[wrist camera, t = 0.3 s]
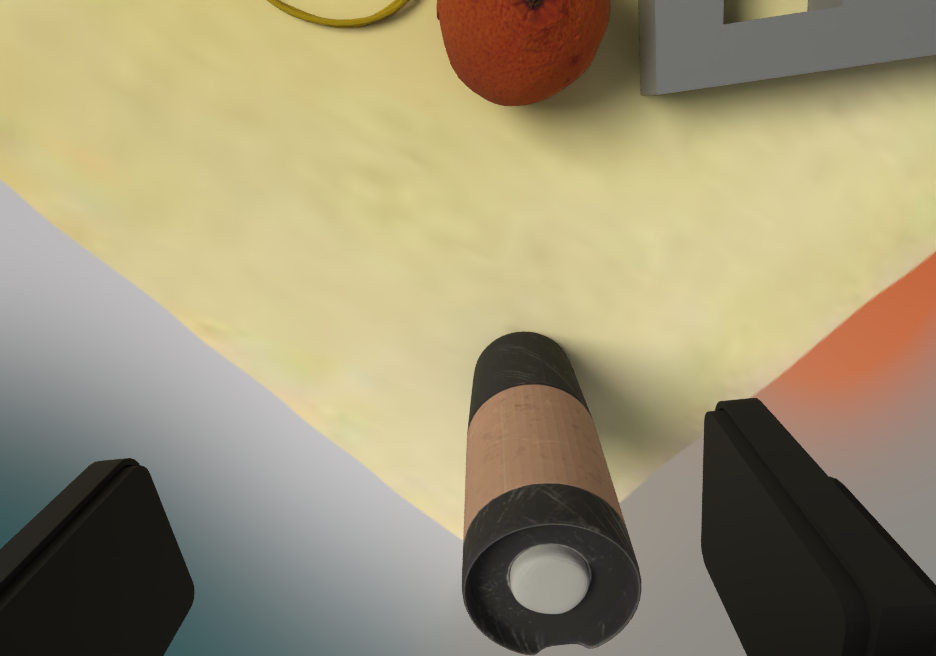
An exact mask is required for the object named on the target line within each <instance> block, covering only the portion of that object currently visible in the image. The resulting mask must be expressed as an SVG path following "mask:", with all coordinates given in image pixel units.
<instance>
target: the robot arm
mask: <svg viewBox="0 0 936 656" xmlns="http://www.w3.org/2000/svg"><path fill="white" fill-rule="evenodd" d="M701 548H702V554H703V559H704V563H705V566H706V568H707V570H708V573H709V575H710V577H711V579H712V581H713V583H714V586H715V588H716V590H717V592H718V594H719V596H720V598H721V601H722V603H723V605H724V607H725V609H726V611H727V613H728V615H729V618H730V620H731V622H732V624H733V626H734V628H735V631H736V633H737V635H738V637H739V639H740V641H741V643H742V646H743V648H744V650H745V652H746V654H747V656H936V585H935V584H934V583H933V581H932V580H930V578H929V577H928V576H927V575H926V574H925V573H924V572H923V571H922V570H921V568H920V567H919V566H918V565H917V564H916V563H915V562H914V561H913V560H912V559H911V558H910V557H909V555H908V554H907V553H906V552H905V551H904V550H903V549H902V548H901V547H900V545H899V544H898V543H897V542H896V541H895V540H894V539H893V538H892V537H891V536H890V535H889V533H888V532H887V531H886V530H885V529H884V528H883V527H882V526H881V525H880V524H879V523H878V521H877V520H876V519H875V518H874V517H873V516H872V515H871V514H870V513H869V512H868V511H867V509H866V508H865V507H864V506H863V505H862V504H861V503H860V502H859V501H858V500H857V499H856V498H855V496H854V495H853V494H852V493H851V492H850V491H849V490H848V489H847V488H846V487H845V486H844V485H843V484H842V483H841V482H840V481H838V480H837V479H835V478H832V477H828V476H827V474H826V473H825V472H824V471H823V470H822V469H821V468H820V467H819V466H818V464H817V463H816V462H815V461H814V460H813V459H812V458H811V457H810V455H809V454H808V453H807V452H806V451H805V450H804V449H803V448H802V447H801V445H800V444H799V443H798V442H797V441H796V440H795V439H794V438H793V436H791V434H790V433H789V432H788V431H787V430H786V429H785V428H784V426H783V425H782V424H781V423H780V422H779V421H778V420H777V419H776V417H775V416H774V415H773V414H772V413H771V412H770V411H769V410H768V409H767V407H766V406H765V405H764V404H763V403H762V402H761V401H760V400H758V399H757V398H749V399H739V400H728V401H719V402H718V403H717V405H716V408H715V411H709V412H707V413H706V415H705V420H704V454H703V493H702V532H701ZM193 600H194V585H193V581H192V579H191V576H190V574H189V572H188V569H187V566H186V564H185V561H184V559H183V556H182V554H181V551H180V549H179V546H178V544H177V541H176V538H175V536H174V534H173V531H172V528H171V526H170V523H169V521H168V518H167V516H166V513H165V511H164V508H163V506H162V503H161V501H160V498H159V496H158V493H157V490H156V488H155V485H154V483H153V481H152V478H151V476H150V473H149V471H148V470H147V468H145V467H144V466H140V465H139V463H138V462H137V461H135V460H134V459H131V458H126V459H115V460H106V461H98V462H94V463H93V464H91V465H90V466H88V467H87V468H86V469H85V470H84V471H83V472H82V473H81V474H80V475H79V476H78V477H77V478H76V479H75V480H74V481H72V482H71V483H70V484H69V485H68V486H67V487H66V488H65V489H64V490H63V491H62V492H61V493H60V494H59V495H58V496H57V497H55V498H54V499H53V500H52V501H51V502H50V503H49V504H48V505H47V506H46V507H45V508H44V509H43V510H42V511H41V512H40V513H39V514H37V515H36V516H35V517H34V518H33V519H32V520H31V521H30V522H29V523H28V524H27V525H26V526H25V527H24V528H22V529H21V530H20V531H19V532H18V533H17V534H16V535H15V536H14V537H13V538H12V539H11V540H10V541H9V542H8V543H7V544H5V545H4V546H3V547H2V548H1V549H0V656H163V655H164V654H165V652H166V650H167V648H168V647H169V645H170V643H171V641H172V640H173V638H174V636H175V634H176V633H177V631H178V629H179V627H180V626H181V624H182V622H183V620H184V619H185V617H186V615H187V614H188V611H189V610H190V608H191V606H192V603H193Z"/></svg>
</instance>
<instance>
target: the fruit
mask: <svg viewBox="0 0 936 656" xmlns="http://www.w3.org/2000/svg"><path fill="white" fill-rule="evenodd" d="M609 10H610V0H437V18H438V20H440V26H441V31H442V36H443V40H444V45H445V48H446V51H447V54H448V57H449V60H450V64H451V66H452V67H453V69H454V71H455V72H456V74H457V76H458V78H459V79H460V80H461V81H462V82H463V83H464V84H465V85H466V86H467V87H469V88H470V89H471V90H472V91H473V92H475V93H476V94H478V95H480V96H481V97H483V98H485V99H486V100H488V101H490V102H493V103H495V104H498V105H503V106H520V105H528V104H532V103H536V102H539V101H542V100H545V99H547V98H549V97H550V96H552V95H554V94H556V93H557V92H559V91H561V90H562V89H564V88H565V87H567V86H568V85H569V84H571V83H572V82H573V81H575V80H576V79H577V78H578V77H579V76H580V75H581V74H582V73H583V72H584V71H585V70H586V69H587V68H588V67H589V66H590V64H591V62H592V60H593V59H594V56H595V54H596V51H597V49H598V46H599V44H600V42H601V40H602V38H603V36H604V34H605V31H606V29H607V26H608V22H609Z"/></svg>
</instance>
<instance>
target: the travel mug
mask: <svg viewBox="0 0 936 656" xmlns="http://www.w3.org/2000/svg"><path fill="white" fill-rule="evenodd" d="M462 592H463V599H464V604H465V607H466V610H467V612H468V614H469V616H470V618H471V620H472V621H473V623H474V624H475V625H476V626H477V628H478V629H479V630H480V631H481V632H482V633H483V634H484V635H485V636H487V637H488V638H489V639H491V640H492V641H494V642H495V643H497V644H499V645H500V646H502V647H505V648H507V649H509V650H512V651H514V652H517V653H521V654H525V655H535V654H537V653H538V652H539V651H540V650H542V649H544V648H546V647H550V646H556V645H565V644H579V645H582V646H585V647H586V648H588V649H592V648H596V647H599V646H600V645H602V644H604V643H606V642H608V641H609V640H611V639H612V638H613V637H615V636H616V635H617V634H618V633H620V632H621V631H622V629H624V627H625V626H626V625H627V624H628V623H629V621H630V620H631V619H632V617H633V615H634V613H635V611H636V610H637V607H638V604H639V601H640V595H641V577H640V572H639V567H638V563H637V560H636V557H635V554H634V550H633V547H632V544H631V541H630V538H629V535H628V531H627V528H626V525H625V522H624V518H623V515H622V512H621V509H620V506H619V502H618V499H617V496H616V492H615V489H614V486H613V483H612V480H611V476H610V473H609V470H608V467H607V463H606V460H605V457H604V454H603V450H602V447H601V444H600V441H599V438H598V434H597V431H596V428H595V425H594V422H593V419H592V417H591V414H590V412H589V409H588V407H587V404H586V401H585V399H584V396H583V394H582V391H581V389H580V386H579V384H578V381H577V379H576V376H575V373H574V371H573V368H572V366H571V364H570V361H569V359H568V357H567V356H566V354H565V352H564V351H563V350H562V348H561V347H560V346H559V345H558V344H556V343H555V342H554V341H553V340H551V339H549V338H547V337H545V336H543V335H540V334H537V333H532V332H515V333H511V334H507V335H505V336H502V337H500V338H498V339H496V340H495V341H493V342H492V343H491V344H490V345H489V346H487V348H486V349H485V350H484V351H483V352H482V354H481V355H480V357H479V359H478V361H477V364H476V367H475V372H474V379H473V387H472V396H471V405H470V414H469V423H468V432H467V452H466V481H465V510H464V539H463V567H462Z"/></svg>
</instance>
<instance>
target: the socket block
mask: <svg viewBox="0 0 936 656" xmlns="http://www.w3.org/2000/svg"><path fill="white" fill-rule="evenodd" d="M638 1H639V41H640V81H641V95H661V94H668V93H675V92H681V91H688V90H695V89H702V88H709V87H716V86H723V85H730V84H737V83H744V82H751V81H758V80H765V79H772V78H779V77H785V76H792V75H799V74H806V73H813V72H820V71H827V70H834V69H841V68H848V67H855V66H862V65H869V64H876V63H883V62H889V61H896V60H903V59H910V58H917V57H924V56H931V55H936V0H808V10H807V12H802V13H795V14H789V15H782V16H776V17H769V18H762V19H756V20H749V21H743V22H736V23H730V24H723V13H724V0H638Z"/></svg>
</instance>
